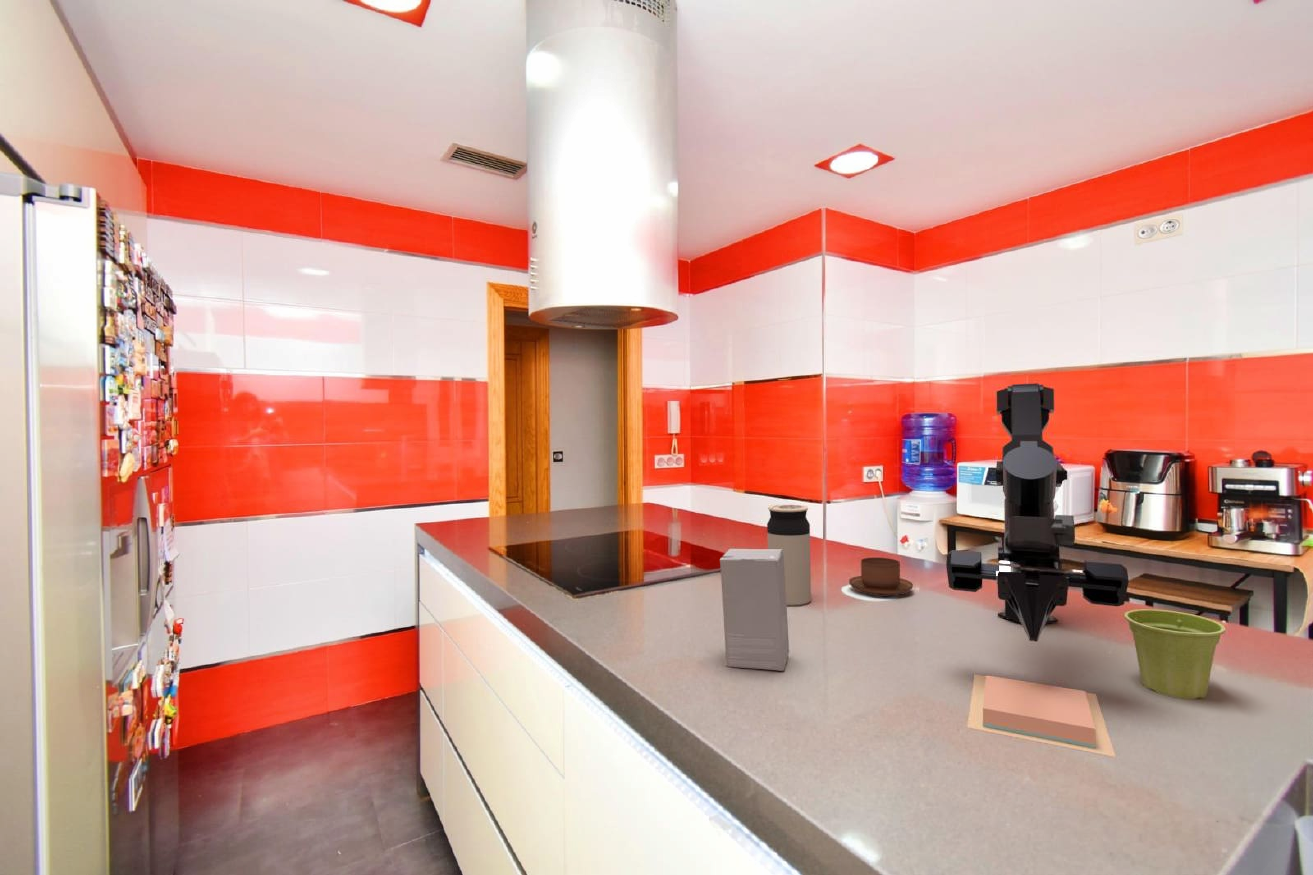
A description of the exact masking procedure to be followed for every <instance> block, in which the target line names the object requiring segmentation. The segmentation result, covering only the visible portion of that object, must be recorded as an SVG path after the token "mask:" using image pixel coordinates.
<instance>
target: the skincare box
mask: <svg viewBox="0 0 1313 875" xmlns="http://www.w3.org/2000/svg"><path fill="white" fill-rule="evenodd" d="M719 564H720V581H721V593H722V596H721V597H722V608H723V609H722V612H723V628H724V629H723V630H724V631H723V632H724V648H725V659H726V663H725V664H726V667H729V668H740V669H741V668H742V669H743V668H744V669H753V670H754V669H758V670H771V671H782V672H783V671H784V670H785V667H786V664H787V660H788V657H789V653H790V643H789V641H790V640H789V627H788V626H789V625H788V609H787V606H786V589H785V573H784V557H783V549H768V548H765V549H763V548H762V549H761V548H752V549H751V548H729V549H728V550H727V551H726V552H725V553H724V554H723V555H722V557H720V559H719Z"/></svg>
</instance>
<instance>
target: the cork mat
mask: <svg viewBox="0 0 1313 875" xmlns="http://www.w3.org/2000/svg"><path fill="white" fill-rule="evenodd" d="M985 681H986V675H979V674H974V677H973V685H972V690H971V698H970V705H969V713H968V719H967V720H968V721H967V727H966V728H967V729H972V730H977V731H982V732H987V733H991V734H997V735H1001V736H1006V737H1007V736H1008V737H1012V738H1016V739H1022V740H1027V741H1032V742H1036V743H1041V744H1042V743H1043V744H1047V745H1051V746H1055V747H1060V748H1065V749H1066V748H1067V749H1070V750H1071V749H1072V750H1077V751H1082V752H1085V753H1090V754H1091V753H1092V754H1097V755H1100V756H1101V755H1102V756H1107V757H1112V758H1116V754H1115V751H1114V748H1113V745H1112V744H1113V743H1112V742H1111V738H1110V735H1109V733H1108V729H1107V725H1106V722H1105V719H1104V715H1103V713H1102V710H1101V706H1100V704H1099V699H1098V698H1097V694H1096V693H1091V692H1090V693H1089V692H1085V693H1086V697H1087V700H1088V704H1089V708H1090V711H1091V715H1092V718H1093V722H1094V726H1095V735H1096V749H1095V748H1090V747H1085V746H1080V745H1075V744H1070V743H1065V742H1060V741H1054V740H1049V739H1044V738H1039V737H1034V736H1029V735H1024V734H1019V733H1014V732H1009V731H1004V730H999V729H994V728H989V727H984V726H983V702H984V691H985Z"/></svg>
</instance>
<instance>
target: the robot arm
mask: <svg viewBox="0 0 1313 875" xmlns="http://www.w3.org/2000/svg"><path fill="white" fill-rule="evenodd" d="M1054 412H1055V389H1054V388H1053V387H1047V386H1044V384H1039V382H1035V383H1017V384H1014V383H1013V384H1012V385H1007V387H1004V389H999V390H997V391H996V415H999V416H1000V415H1001V426H1002V428H1003V429H1004V431H1005V432H1006V433H1007V434H1008V436H1009V437H1010V439H1011V440H1010V441H1008V442H1007V443H1006V444H1005V445H1004V446H1002V448H1001V449H1002V451H1001V452H1002V453H1001V454H1002V456H1001V457H1002V458H1001V459H1002V460H1001V461H999V460H996V466H995V478H996V481H995V483H996V486H997V487H998V486H999V487H1000V486H1001V487H1002V492H1003V494H1004V497H1005V498H1004V502H1003V503H1004V507H1003V509H1004V511H1003V512H1004V513H1003V514H1004V515H1003V516H1004V534H1003V536H1002V546H997V564H995V563H994V564H993V563H983V562H982V561H983V560H982V552H981V551H971V550H960V549H959V550H956V549H951V551H949V552H948V553H947V554H946V563H945V564H946V565H945V566H946V567H945V568H946V575H947V582H948V588H950V589H952V590H954V591H963V592H971V593H976V592H978V591H979V590H981V589H982V588H983V580H984V581H992V582H993V581H994V582H996V585H997V598H998V599H999V600H1001V601H1004V611H1002V612H998V613H997V616H998V617H1001V618H1002V619H1006V620H1009V621H1012V622H1016V623H1020V624H1021V626H1022V628H1023V630H1024V632H1025V635H1026V636H1027V639H1028V641H1030V642H1038V641H1039V639H1040V637H1041V635H1042V632H1043V629H1044V627H1045V625H1047V624H1052V623H1057V622H1059V618H1058V617H1054V616H1051V614H1052V613H1053V612H1054V611H1055V609H1056V607H1065V606H1066V605H1067V602H1068V591H1069V588H1080V589H1082V598H1083V599H1084V600H1086V601H1087V602H1089V603H1090V604H1091V605H1099V606H1100V605H1101V606H1108V607H1120V606H1121V607H1122V606H1124V605H1125V602H1126V601H1125V600H1126V597H1127V591H1128V587H1129V581H1130V579H1129V572H1128V568H1127V567H1125V565H1123V563H1121V561H1109V560H1097V559H1096V560H1095V559H1084V563H1083V564H1084V565H1083V570H1081V569H1069V568H1063V560H1062V559H1061V557H1060V556H1061V555H1060V554H1061V553H1060V545H1063V546H1064V545H1065V546H1073V545H1075V541H1076V530H1075V518H1074V515H1072V514H1071V515H1069V514H1066V515H1065V514H1055V505H1054V504H1055V503H1054V500H1055V498H1056V490H1057V489H1056V488H1060V487H1062V485H1063V482H1064V481H1065V480H1066V481H1067V480H1068V470H1067V469H1065V467H1063V465H1062V464H1061V461H1058V460H1057V458H1056V456H1055V453H1054V447H1053V445H1051V444H1049V443H1048V442H1046V441H1045V440H1044V439H1043V433H1044V431H1045V430H1046V429H1047V427H1048V426H1049V421H1050V414H1054Z"/></svg>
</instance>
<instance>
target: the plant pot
mask: <svg viewBox="0 0 1313 875" xmlns="http://www.w3.org/2000/svg"><path fill="white" fill-rule="evenodd" d="M1124 619H1125V620H1126V621H1127V622H1128V623H1129V625H1128V626H1129V629H1130V631H1131V633H1132V635H1133V640H1134V646H1135V647H1134V648H1135V651H1136V652H1135V653H1136V659H1137V663H1138V669H1139V674H1140V680H1141V684H1142V685H1143V686H1144V688H1146V689H1148V690H1153V691H1155V692H1157V693H1158V694H1160V695H1164V696H1168V697H1173V698H1179V699H1186V700H1196V699H1198V698H1201V699H1205V698H1206V697H1207V694H1208V689H1209V684H1210V679H1211V671H1212V666H1213V661H1214V658H1215V652H1216V647H1217V645H1218V644H1219V643H1220V639H1221V636H1222V635H1223V634H1225V633H1226V627H1225V626H1224V625H1223V624H1222V623H1220V622H1218V621H1216V620H1213V619H1210V618H1207V617H1203V616H1200V615H1195V614H1192V613H1187V612H1179V611H1174V610H1164V609H1147V608H1145V609H1144V608H1141V609H1132V610H1129V611H1126V612H1125V613H1124Z"/></svg>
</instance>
